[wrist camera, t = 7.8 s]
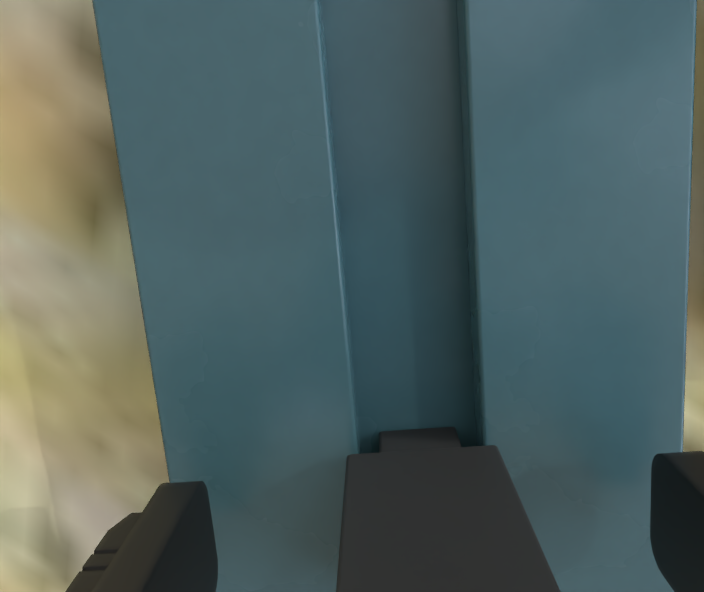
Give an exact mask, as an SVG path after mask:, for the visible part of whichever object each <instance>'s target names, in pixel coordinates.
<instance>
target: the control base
mask: <svg viewBox="0 0 704 592" xmlns="http://www.w3.org/2000/svg"><path fill="white" fill-rule="evenodd" d="M92 2H93V8H94V14H95V20H96V26H97V33H98V39H99V45H100V51H101V58H102V64H103V70H104V76H105V83H106V89H107V95H108V101H109V107H110V114H111V120H112V126H113V132H114V139H115V145H116V151H117V157H118V164H119V170H120V176H121V182H122V188H123V195H124V201H125V207H126V213H127V220H128V226H129V232H130V238H131V245H132V251H133V257H134V263H135V269H136V276H137V282H138V288H139V294H140V301H141V307H142V313H143V319H144V326H145V332H146V338H147V344H148V350H149V357H150V363H151V369H152V375H153V382H154V388H155V394H156V400H157V407H158V413H159V419H160V425H161V431H162V438H163V444H164V450H165V456H166V463H167V469H168V475H169V481H170V483H177V482H193V481H203V482H204V483H205V485H206V487H207V490H208V495H209V502H210V509H211V516H212V523H213V529H214V536H215V543H216V550H217V557H218V580H217V587H216V592H336V585H337V572H338V560H339V547H340V534H341V522H342V509H343V497H344V484H345V471H346V459H347V456H348V455H350V454H364V453H379V433H380V432H382V431H394V430H410V429H425V428H440V427H455V429H456V431H457V434H458V437H459V440H460V444H461V447H473V446H488V445H495V446H497V447H498V449H499V452H500V454H501V456H502V459H503V461H504V463H505V465H506V468H507V470H508V472H509V475H510V477H511V479H512V482H513V484H514V486H515V488H516V491H517V493H518V495H519V498H520V500H521V502H522V504H523V507H524V509H525V511H526V514H527V516H528V518H529V521H530V523H531V525H532V527H533V530H534V532H535V534H536V537H537V539H538V541H539V543H540V546H541V548H542V550H543V553H544V555H545V557H546V559H547V562H548V564H549V566H550V569H551V571H552V573H553V576H554V578H555V580H556V582H557V585H558V587H559V589H560V592H674V591H673V589H672V588H671V586H670V585H669V583H668V582H667V581H666V579H665V578H664V576H663V575H662V573H661V572H660V570H659V568H658V566H657V563H656V561H655V558H654V555H653V551H652V547H651V540H650V509H651V467H652V461H653V458H654V456H655V455H656V454H660V453H676V452H683V427H684V395H685V363H686V331H687V299H688V267H689V235H690V203H691V171H692V139H693V107H694V75H695V43H696V11H697V0H92Z"/></svg>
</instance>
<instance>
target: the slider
mask: <svg viewBox="0 0 704 592" xmlns="http://www.w3.org/2000/svg"><path fill="white" fill-rule="evenodd" d="M336 592H560V589H559V587H558V585H557V582H556V580H555V578H554V576H553V573H552V571H551V569H550V566H549V564H548V562H547V559H546V557H545V555H544V553H543V550H542V548H541V546H540V543H539V541H538V539H537V537H536V534H535V532H534V530H533V527H532V525H531V523H530V521H529V518H528V516H527V514H526V511H525V509H524V507H523V504H522V502H521V500H520V498H519V495H518V493H517V491H516V488H515V486H514V484H513V482H512V479H511V477H510V475H509V472H508V470H507V468H506V465H505V463H504V461H503V459H502V456H501V454H500V452H499V449H498V447H497V446H495V445H488V446H473V447H461V444H460V440H459V437H458V434H457V431H456V429H455V427H440V428H425V429H410V430H394V431H382V432H380V433H379V453H364V454H350V455H348V456H347V459H346V471H345V484H344V497H343V509H342V522H341V534H340V547H339V560H338V572H337V585H336Z"/></svg>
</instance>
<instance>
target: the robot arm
mask: <svg viewBox="0 0 704 592" xmlns="http://www.w3.org/2000/svg"><path fill="white" fill-rule="evenodd" d="M650 540H651V547H652V551H653V555H654V558H655V561H656V563H657V566H658V568H659V570H660V572H661V573H662V575H663V576H664V578H665V579H666V581H667V582H668V583H669V585H670V586H671V588H672V589H673V591H674V592H704V452H703V451H692V452H676V453H660V454H656V455H655V456H654V458H653V461H652V467H651V509H650ZM217 580H218V557H217V550H216V543H215V536H214V529H213V523H212V516H211V509H210V502H209V495H208V490H207V487H206V485H205V483H204V482H203V481H193V482H177V483H163V484H161V485H160V486H159V487H158V489H157V490H156V492H155V493H154V495H153V496H152V498H151V499H150V501H149V503H148V504H147V506H146V507H145V509H144V510H143V512H141V513H131V514H129V515H128V516H127V517H126V518H124V519H123V520H122V521H120V522H119V523H118V524H116V525H115V526H114V527H112V528H111V529H110V530H108V532H107V533H106V534H105V536H104V537H103V539H102V540H101V542H100V543H99V544H98V546H97V547H96V549H95V550H94V554H92V555H91V556H90V557H89V559H88V560H87V562H86V563H85V564H84V566H83V570H82V571H80V572H79V573H78V574H77V576H76V577H75V579H74V580H73V582H72V583H71V584H70V586H69V587H68V589H67V590H66V592H216V587H217Z"/></svg>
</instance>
